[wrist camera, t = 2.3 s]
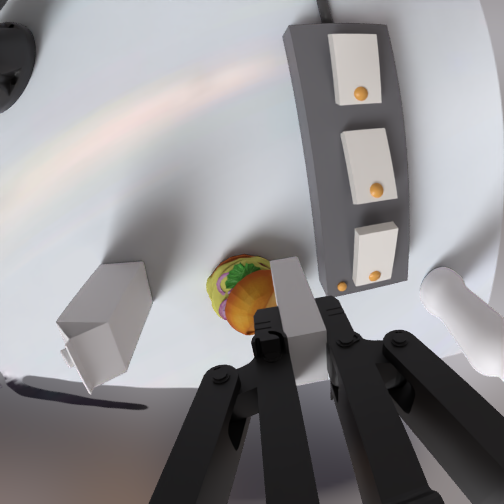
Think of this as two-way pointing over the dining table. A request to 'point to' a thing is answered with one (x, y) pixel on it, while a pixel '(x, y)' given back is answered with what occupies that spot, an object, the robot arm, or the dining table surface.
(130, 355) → the milk carton
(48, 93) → the dining table surface
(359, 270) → the rocker
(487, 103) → the dining table surface
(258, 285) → the cheeseburger
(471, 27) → the dining table surface
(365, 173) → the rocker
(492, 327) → the bottle
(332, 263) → the power strip
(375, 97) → the rocker
